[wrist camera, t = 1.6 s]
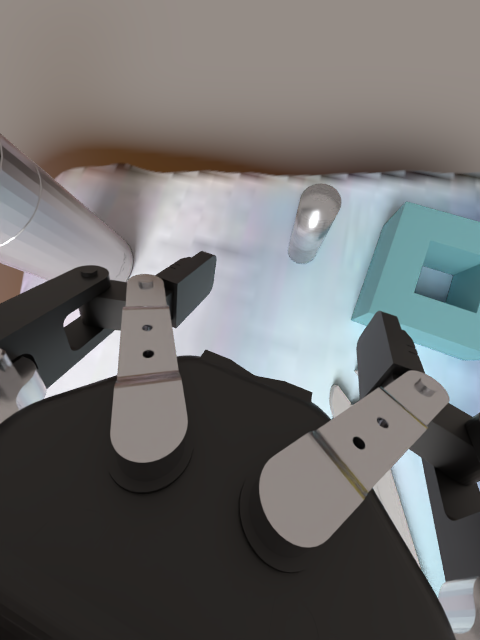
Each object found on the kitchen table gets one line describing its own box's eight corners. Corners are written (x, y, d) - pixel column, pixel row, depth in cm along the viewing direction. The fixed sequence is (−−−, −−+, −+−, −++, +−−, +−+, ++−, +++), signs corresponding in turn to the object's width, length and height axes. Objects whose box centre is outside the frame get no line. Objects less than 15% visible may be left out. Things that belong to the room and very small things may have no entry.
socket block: (350, 320, 30) (368, 312, 25) (383, 226, 31) (406, 201, 26) (463, 360, 28) (506, 360, 23) (491, 258, 29) (538, 238, 24)
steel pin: (284, 258, 32) (294, 213, 22) (293, 234, 32) (307, 179, 22) (310, 267, 31) (333, 225, 21) (320, 242, 32) (346, 190, 22)
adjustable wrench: (430, 615, 25) (443, 635, 23) (366, 619, 25) (373, 638, 24) (376, 368, 29) (383, 369, 27) (321, 375, 29) (325, 377, 28)
